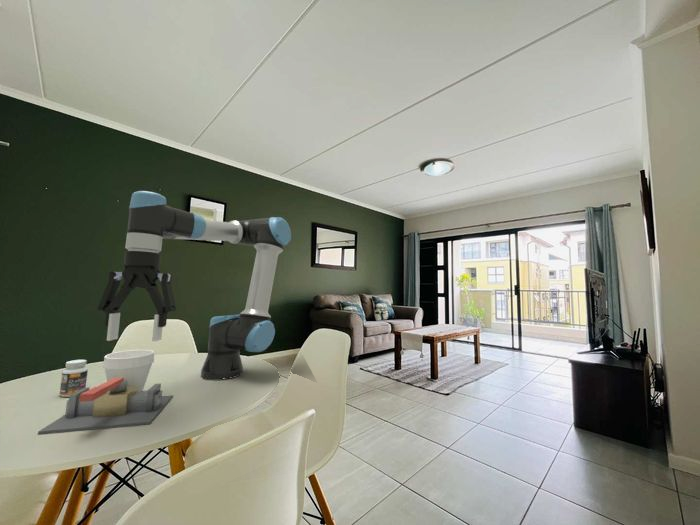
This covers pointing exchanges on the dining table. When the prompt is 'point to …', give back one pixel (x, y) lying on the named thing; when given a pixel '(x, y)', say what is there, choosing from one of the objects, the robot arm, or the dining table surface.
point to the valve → (115, 402)
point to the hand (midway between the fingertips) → (134, 339)
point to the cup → (129, 366)
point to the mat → (104, 420)
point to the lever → (104, 389)
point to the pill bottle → (73, 377)
